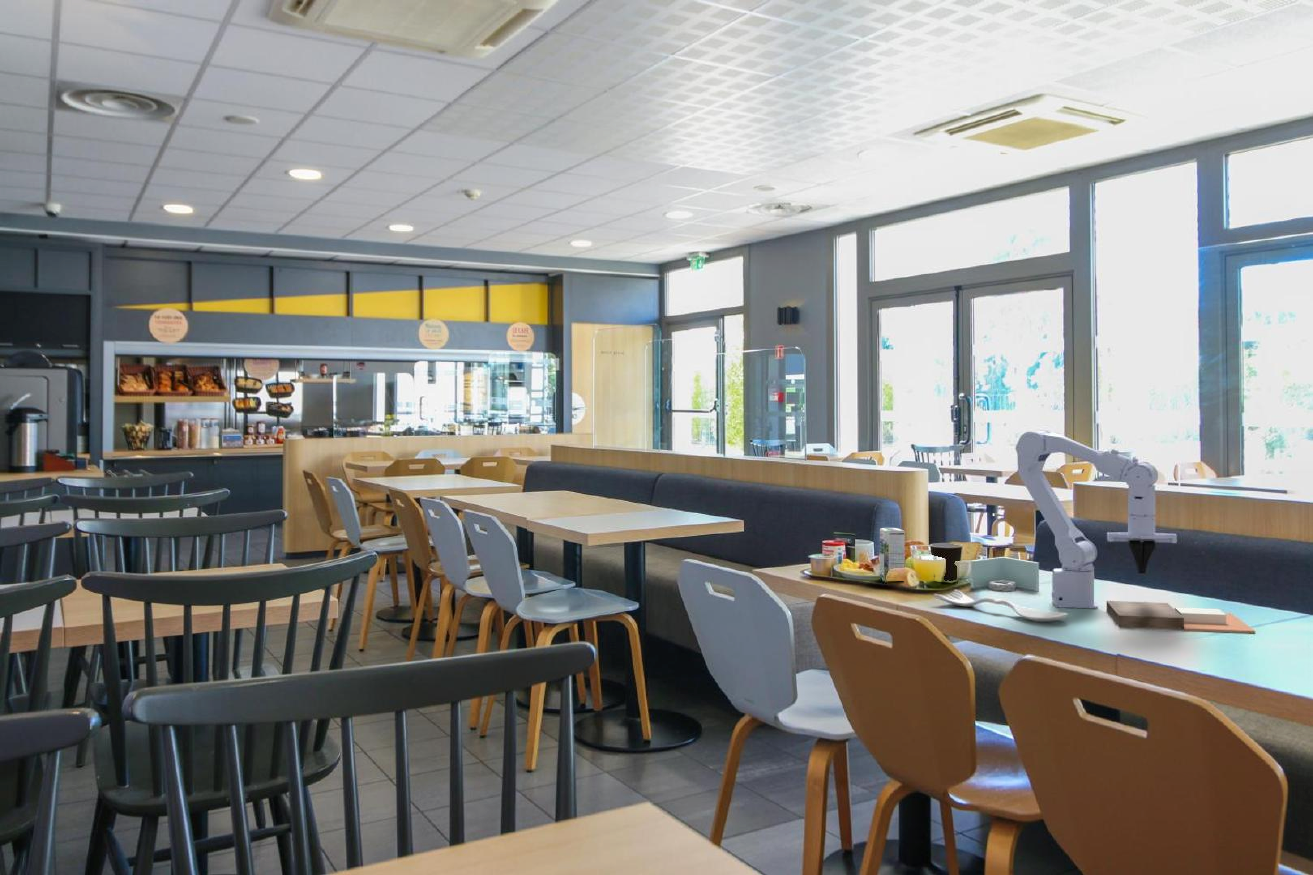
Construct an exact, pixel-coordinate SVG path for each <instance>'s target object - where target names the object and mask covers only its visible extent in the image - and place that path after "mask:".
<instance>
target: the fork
mask: <svg viewBox="0 0 1313 875" xmlns="http://www.w3.org/2000/svg"><path fill="white" fill-rule="evenodd" d="M933 596H934V598H936V599H938V600H940V601H943V602H946V603H949V604H952V605H956V606H959V607H973V606H976V605H978V604H981V603H992V604H996V605H1003V606H1007V607H1008V608H1011V609H1012V610H1013V611H1014V612H1015V613H1016V615H1019V617H1022V618H1024V619H1026V620H1029V621H1033V622H1036V621H1037V622H1038V623H1046V622H1047V623H1048V622H1054V621H1055V622H1056V621H1060V620H1063V619H1066V618H1067V617H1068V615H1069V614H1068V613H1067V612H1060V611H1059V612H1058V611H1048V610H1043V609H1036V608H1030V607H1026V606H1022V605H1019V604H1016V603H1014V602H1011V601H1007V600H1005V599H1000V598H993V597H982V598H979V599H976V600H975V599H974V598H972V597H969V596H968V595H966V594H965V593H963V592H962V591H960V590H959V589H953V591H952V592H951V593H949V594H945V595H944V594H942V595H941V594H938V593H934V594H933Z"/></svg>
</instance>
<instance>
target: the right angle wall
mask: <svg viewBox="0 0 1313 875" xmlns="http://www.w3.org/2000/svg"><path fill="white" fill-rule="evenodd" d="M970 578H971V579H970V581H971V582H970V585H971V586H970V588H971V589H979V588H986V587H988V589H989V590H990V591H997V592H998V591H999V592H1013V591H1016V588H1021V589H1024V590H1025V589H1026V590H1031V591H1036V592H1037V591H1040V562H1037V561H1030V560H1024V559H1018V558H1014V557H1013V558H1012V557H1006V556H999V557H989V558H982V559H976V560H970Z"/></svg>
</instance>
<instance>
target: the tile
mask: <svg viewBox="0 0 1313 875" xmlns="http://www.w3.org/2000/svg"><path fill="white" fill-rule="evenodd" d="M1174 610H1176V611H1177V612H1178V613H1179V614H1180V615H1181V616H1182V617H1183V618H1184V622H1193V623H1218V624H1226V614H1225V613H1226V612H1223V610H1221V609H1219V608H1204V607H1203V608H1199V607H1197V608H1195V607H1174Z"/></svg>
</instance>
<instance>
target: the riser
mask: <svg viewBox="0 0 1313 875" xmlns="http://www.w3.org/2000/svg"><path fill="white" fill-rule="evenodd" d="M1106 613H1107V614H1108V615H1109V616H1110V617H1111V619H1112V620H1113V621H1114V623H1115V624H1116V625H1117V626H1118V627H1119V626H1120V627H1119V628H1121V627H1122V628H1138V629H1139V628H1143V629H1144V628H1145V629H1161V630H1162V629H1165V630H1166V629H1167V630H1184V618H1183V617H1182V616H1181V615H1180V614H1179V613H1178V612H1177V611H1176V610H1175V608H1173V606H1171V605H1170V604H1169V603H1168V602H1148V601H1147V602H1146V601H1144V602H1143V601H1123V600H1122V601H1121V600H1120V601H1119V600H1106Z"/></svg>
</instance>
